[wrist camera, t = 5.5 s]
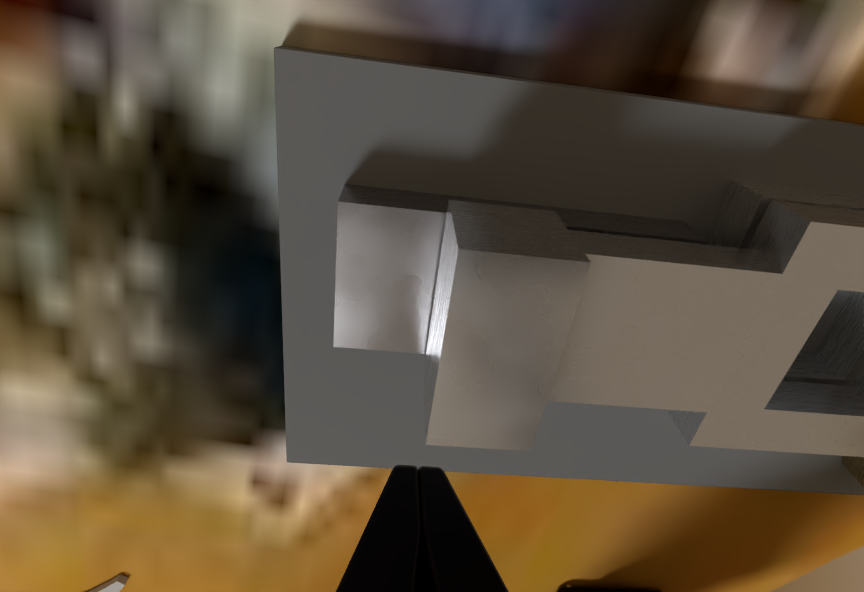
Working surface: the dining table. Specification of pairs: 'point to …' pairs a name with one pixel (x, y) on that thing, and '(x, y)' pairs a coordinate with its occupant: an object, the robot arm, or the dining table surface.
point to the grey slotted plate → (426, 214)
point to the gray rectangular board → (530, 184)
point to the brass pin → (855, 467)
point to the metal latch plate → (639, 329)
